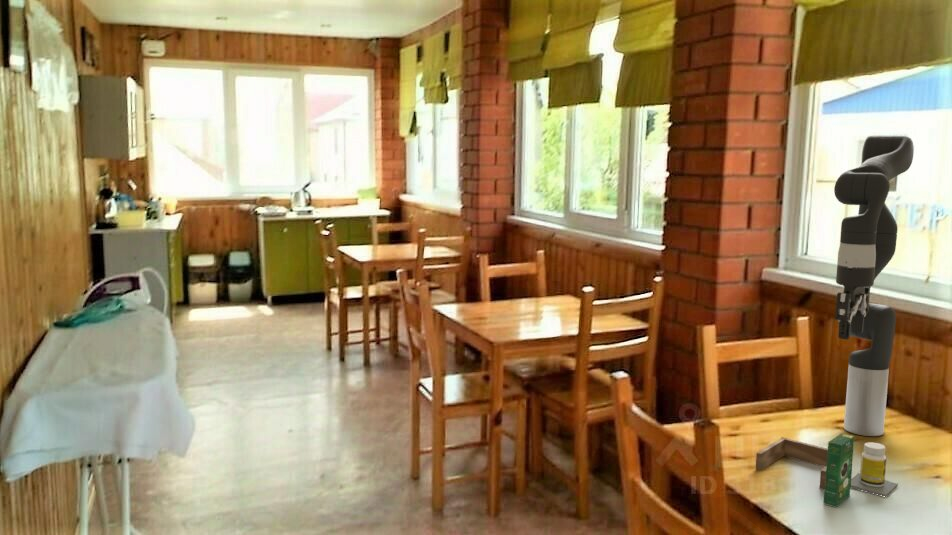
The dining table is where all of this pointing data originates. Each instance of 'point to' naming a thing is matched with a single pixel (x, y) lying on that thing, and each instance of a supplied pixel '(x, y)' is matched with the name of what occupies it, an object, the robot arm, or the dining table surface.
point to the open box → (793, 455)
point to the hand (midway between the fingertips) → (850, 335)
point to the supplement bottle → (873, 465)
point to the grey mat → (882, 490)
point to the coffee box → (838, 469)
